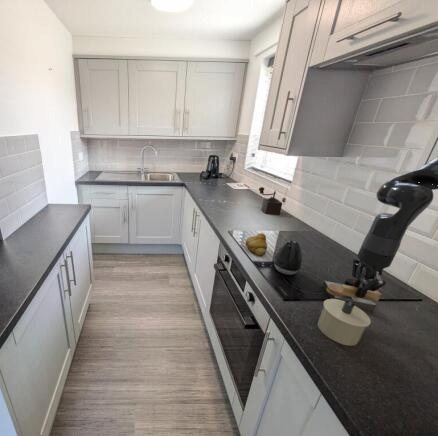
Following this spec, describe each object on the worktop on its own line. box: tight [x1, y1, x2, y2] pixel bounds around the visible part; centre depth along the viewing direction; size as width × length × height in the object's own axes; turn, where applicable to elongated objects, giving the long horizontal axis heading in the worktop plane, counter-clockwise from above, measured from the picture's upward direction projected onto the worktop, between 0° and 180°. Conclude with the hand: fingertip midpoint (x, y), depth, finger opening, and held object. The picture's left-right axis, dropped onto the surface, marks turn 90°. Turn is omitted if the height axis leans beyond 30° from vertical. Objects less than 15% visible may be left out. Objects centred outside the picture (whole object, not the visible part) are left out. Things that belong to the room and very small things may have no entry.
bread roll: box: [245, 233, 268, 256], centre depth 116 cm, size 13×10×8 cm
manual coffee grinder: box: [258, 186, 283, 216], centre depth 172 cm, size 16×11×18 cm
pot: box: [316, 306, 367, 347], centre depth 70 cm, size 10×10×7 cm
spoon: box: [327, 283, 382, 303], centre depth 75 cm, size 14×4×3 cm, turn 73°
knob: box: [343, 278, 355, 286], centre depth 84 cm, size 4×4×5 cm
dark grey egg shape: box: [273, 239, 303, 276], centre depth 98 cm, size 10×10×15 cm
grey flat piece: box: [321, 280, 377, 313], centre depth 85 cm, size 12×10×3 cm
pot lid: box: [322, 298, 372, 328], centre depth 68 cm, size 11×11×4 cm
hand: (357, 294), depth 75 cm, fingers closed on spoon, 2 cm apart
